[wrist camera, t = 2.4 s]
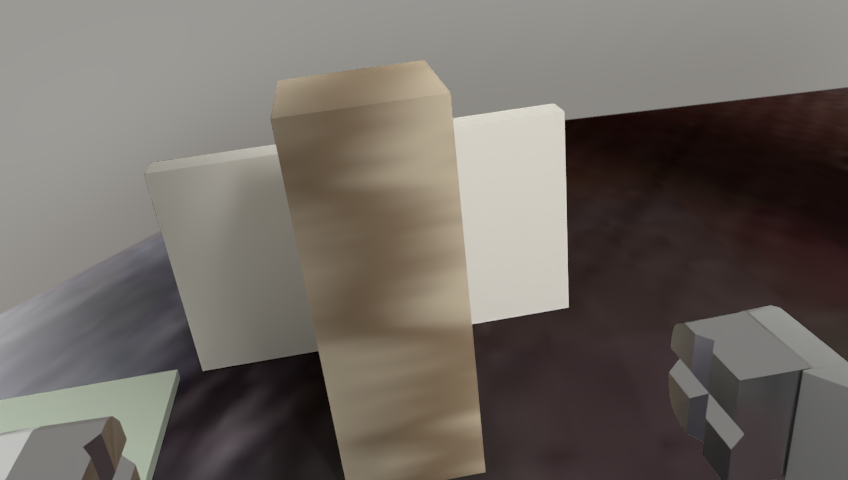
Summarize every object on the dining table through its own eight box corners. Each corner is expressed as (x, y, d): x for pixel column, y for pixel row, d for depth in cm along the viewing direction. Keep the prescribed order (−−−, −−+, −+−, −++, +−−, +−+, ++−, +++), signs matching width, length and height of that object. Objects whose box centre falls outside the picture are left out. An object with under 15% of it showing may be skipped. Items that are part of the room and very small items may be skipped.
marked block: (457, 385, 30) (422, 58, 24) (485, 472, 26) (450, 93, 20) (343, 405, 30) (278, 78, 24) (349, 498, 25) (270, 119, 19)
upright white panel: (558, 293, 36) (553, 103, 32) (568, 307, 35) (564, 111, 31) (206, 353, 35) (151, 162, 30) (202, 371, 33) (143, 173, 29)
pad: (180, 378, 33) (177, 369, 33) (131, 550, 24) (127, 540, 24) (-41, 416, 32) (-46, 408, 32) (-178, 610, 23) (-185, 600, 23)
